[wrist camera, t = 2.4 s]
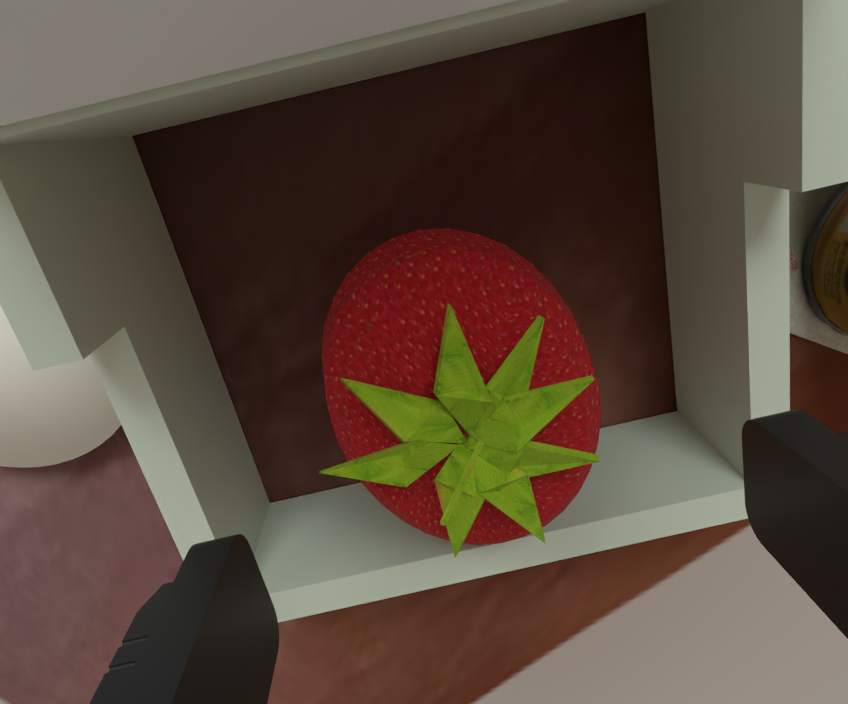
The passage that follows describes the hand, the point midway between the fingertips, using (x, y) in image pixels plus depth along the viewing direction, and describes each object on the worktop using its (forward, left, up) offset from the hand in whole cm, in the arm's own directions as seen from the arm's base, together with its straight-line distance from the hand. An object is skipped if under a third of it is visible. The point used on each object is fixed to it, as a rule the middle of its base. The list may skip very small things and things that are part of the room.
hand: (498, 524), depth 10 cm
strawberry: (0, 0, -10) cm, 10 cm away
